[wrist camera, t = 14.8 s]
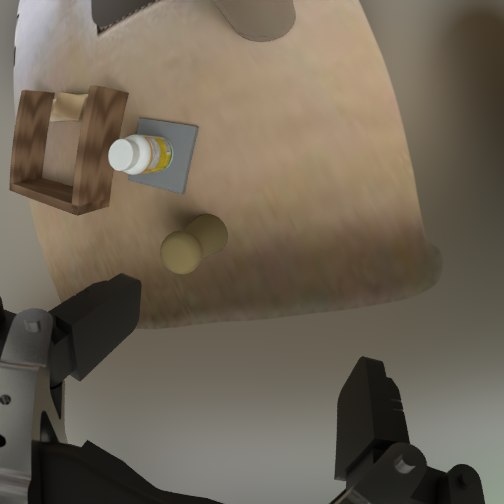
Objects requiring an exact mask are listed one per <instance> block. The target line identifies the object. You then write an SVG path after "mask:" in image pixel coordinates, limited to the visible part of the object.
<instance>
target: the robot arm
mask: <svg viewBox="0 0 504 504" xmlns="http://www.w3.org/2000/svg"><path fill="white" fill-rule="evenodd" d="M213 2H214V3H215V4H216V5H217V7H218V8H219V9H220V11H221V12H222V13H223V14H224V16H225V17H226V18H227V20H228V21H229V22H230V24H231V25H232V26H233V27H234V29H235V30H236V31H237V32H238V34H240V35H241V36H242V37H244V38H246V39H248V40H252V41H260V42H264V41H271V40H274V39H277V38H279V37H281V36H283V35H284V34H286V33H287V32H288V31H289V30H290V29H291V28H292V26H293V24H294V22H295V18H296V17H295V9H294V5H293V0H213ZM140 300H141V282H140V280H138V279H135V278H133V277H130V276H128V275H126V274H123V273H120V274H119V275H117V276H115V277H114V278H112V279H110V280H109V281H102V282H98V283H94V284H92V285H90V286H89V287H87V288H85V289H84V291H81V292H79V293H77V294H76V296H72V297H71V298H69V299H68V300H66V301H64V302H63V303H61V304H60V305H58V306H57V307H55V308H53V309H52V310H50V311H49V312H47V311H45V310H43V309H38V308H30V309H26V310H23V311H21V312H19V313H18V314H15V313H12V312H9V311H7V310H4V309H3V304H2V299H1V297H0V504H223V503H220V502H217V501H214V500H211V499H208V498H202V497H195V496H189V495H183V494H178V493H172V492H168V491H163V490H160V489H158V488H156V487H154V486H153V485H152V484H150V483H149V482H148V481H146V480H145V479H144V478H143V477H141V476H140V475H139V474H137V473H136V472H135V471H134V470H133V469H132V468H130V467H129V466H128V465H127V464H126V463H125V462H123V461H122V460H120V459H118V458H117V457H115V456H113V455H111V454H110V453H108V452H106V451H105V450H103V449H101V448H100V447H98V446H96V445H95V444H93V443H92V442H90V441H88V440H87V441H86V442H85V443H84V445H83V446H82V447H79V446H75V445H72V444H68V442H67V437H66V433H65V418H64V417H65V380H64V379H65V378H66V377H67V376H68V375H71V376H72V377H74V378H75V379H77V380H78V381H81V380H82V379H83V378H84V377H86V375H88V374H89V373H90V372H91V371H92V370H93V369H94V368H95V367H96V366H97V365H98V364H99V363H100V362H101V361H102V360H103V359H104V358H105V357H106V356H107V355H108V354H109V353H110V352H112V351H113V350H114V348H116V347H117V346H118V345H119V344H120V343H121V342H122V341H123V340H124V339H125V338H126V337H127V336H128V335H130V334H131V333H132V332H133V331H134V329H135V328H136V326H137V324H138V321H139V315H140ZM334 479H335V480H342V481H346V489H344V490H343V491H342V492H341V493H340V494H339V495H338V496H337V497H335V498H334V499H333V500H332V501H331V502H330V503H329V504H485V501H484V495H483V489H482V484H481V480H480V477H479V475H478V473H477V472H476V471H475V470H474V469H473V468H472V467H470V466H468V465H465V464H458V465H456V466H454V467H453V468H452V469H451V470H450V471H448V472H447V473H446V472H443V471H440V470H436V469H434V468H431V467H428V466H427V461H426V458H425V456H424V455H423V453H422V452H421V451H420V450H419V449H418V448H417V447H415V446H414V445H411V444H410V441H409V436H408V431H407V425H406V420H405V415H404V412H403V406H402V403H401V397H400V393H399V389H398V387H397V386H396V384H395V383H394V381H393V380H392V379H391V378H388V377H386V372H385V368H384V364H383V362H382V361H379V360H375V359H371V358H368V357H364V356H362V357H361V358H360V359H359V360H358V362H357V364H356V366H355V367H354V369H353V371H352V372H351V374H350V376H349V378H348V379H347V381H346V383H345V384H344V386H343V388H342V390H341V392H340V395H339V398H338V403H337V441H336V462H335V478H334Z"/></svg>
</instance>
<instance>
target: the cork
mask: <svg viewBox="0 0 504 504" xmlns="http://www.w3.org/2000/svg"><path fill="white" fill-rule="evenodd" d="M227 238H228V233H227V228H226V226H225V225H224V223H223V222H222V221H221V220H220V219H219V218H218V217H216V216H214V215H210V214H204V215H200V216H199V217H197V218H196V219H195V220H193V221H192V222H191V223H190V224H189V225H188V226H187V227H186V228H185V229H184V230H183V231H177V232H173V233H171V234H170V235H168V236H167V237H166V238H165V240H164V241H163V242H162V245H161V253H160V254H161V259H162V261H163V263H164V265H165V266H166V267H167V268H168V269H169V270H171V271H172V272H174V273H178V274H187V273H189V272H191V271H194V270H195V269H196V268H197V266H198V265H199V264H200V262H201V260H202V259H204V258H206V257H208V256H210V255H212V254H215V253H217V252H219V251H221V250H222V249H223V248H224V247H225V245H226V242H227Z"/></svg>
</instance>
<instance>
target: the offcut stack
mask: <svg viewBox="0 0 504 504" xmlns="http://www.w3.org/2000/svg"><path fill="white" fill-rule="evenodd" d="M87 97H88V94H69V93H65V92H58V96H57V99H53V104H52V110H51V118H50V122H58V121H83V116H84V111H85V106H86V102H87Z"/></svg>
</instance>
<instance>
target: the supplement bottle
mask: <svg viewBox="0 0 504 504" xmlns="http://www.w3.org/2000/svg"><path fill="white" fill-rule="evenodd" d="M173 155H174V152H173V147H172V145H171V143H170V142H169V141H168V140H167V139H166V138H163V137H158V136H147V135H130V136H128V137H126V138H125V139H119V140H117V141H115V142H114V143H113V144H112V145H111V147H110V150H109V154H108V158H109V163H110V165H111V166H112V168H114V169H115V170H117V171H124V172H125V173H127V174H131V175H135V174H144V173H152V172H160V171H163V170H165V169H166V168H168V167H169V165H170V164H171V162H172V160H173Z"/></svg>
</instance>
